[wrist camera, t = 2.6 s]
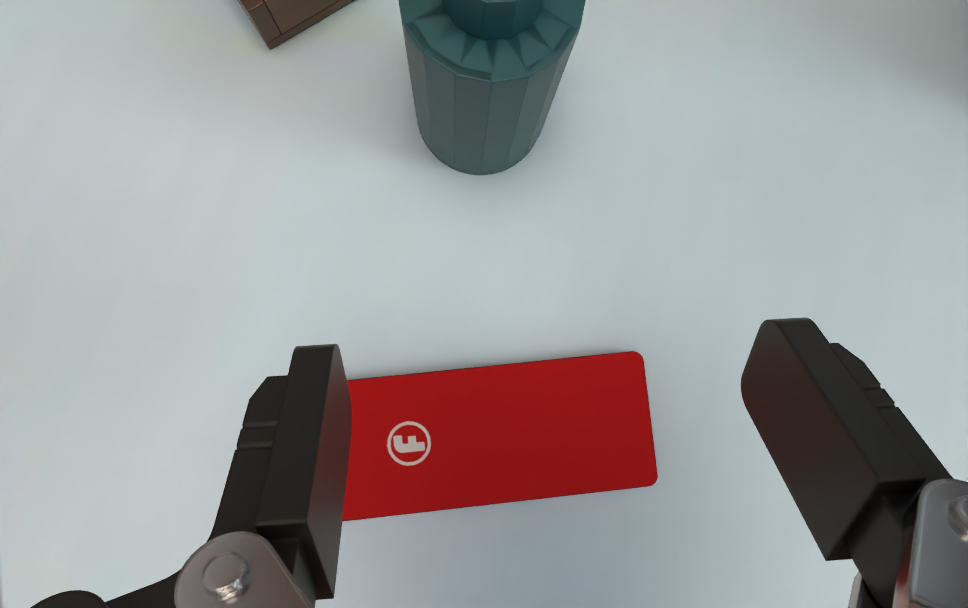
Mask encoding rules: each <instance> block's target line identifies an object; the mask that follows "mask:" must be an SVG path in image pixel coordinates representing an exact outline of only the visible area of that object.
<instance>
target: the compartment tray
mask: <svg viewBox="0 0 968 608" xmlns="http://www.w3.org/2000/svg"><path fill="white" fill-rule="evenodd" d="M352 1H354V0H238V2H239V3H240V5H241V7H242V8H243V10H244V11H245V13H246V14H247V16H248V17H249V19H250V20H251V22H252V23H253V25H254V26H255V28H256V29H257V31H258V32H259V34H260V35H261V37H262V39H263V40H264V42H265V43H266V45H267V46H268V48H269V49H272V48H274V47H276V46H277V45H279V44H281V43H282V42H284V41H286V40H287V39H289V38H291V37H293V36H294V35H296V34H298V33H299V32H301V31H303V30H304V29H306V28H308V27H310V26H311V25H313V24H315V23H316V22H318V21H320V20H321V19H323V18H325V17H327V16H328V15H330V14H332V13H333V12H335V11H337V10H338V9H340V8H342V7H343V6H345V5H347V4H349V3H350V2H352Z"/></svg>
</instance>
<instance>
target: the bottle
mask: <svg viewBox="0 0 968 608" xmlns="http://www.w3.org/2000/svg"><path fill="white" fill-rule="evenodd" d="M584 5H585V0H399V6H400V13H401V19H402V26H403V32H404V38H405V45H406V51H407V58H408V64H409V71H410V77H411V84H412V90H413V97H414V103H415V109H416V115H417V120H418V125H419V130H420V133H421V135H422V138H423V140H424V142H425V143H426V145H427V147H428V148H429V149H430V151H431V152H432V153H433V154H434V155H435V156H436V157H437V158H438V159H439V160H440V161H442V162H443V163H444V164H446V165H448V166H449V167H451V168H453V169H455V170H458V171H461V172H464V173H468V174H475V175H485V174H493V173H497V172H501V171H503V170H506V169H508V168H510V167H512V166H514V165H515V164H516V163H518V162H519V161H521V160H522V159H523V158H524V157H525V156H526V155H527V154H528V152H529V151H530V150H531V149H532V147H533V145H534V144H535V142H536V140H537V138H538V137H539V135H540V133H541V130H542V127H543V125H544V122H545V119H546V117H547V114H548V111H549V109H550V106H551V103H552V101H553V98H554V96H555V93H556V90H557V88H558V85H559V82H560V80H561V77H562V74H563V72H564V69H565V66H566V64H567V61H568V58H569V56H570V53H571V50H572V48H573V45H574V43H575V40H576V37H577V35H578V32H579V29H580V25H581V20H582V15H583V10H584Z"/></svg>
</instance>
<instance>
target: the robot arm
mask: <svg viewBox="0 0 968 608" xmlns="http://www.w3.org/2000/svg"><path fill="white" fill-rule="evenodd" d="M741 393H742V398H743V401H744V404H745V407H746V409H747V411H748V413H749V414H750V416H751V418H752V420H753V422H754V424H755V426H756V428H757V430H758V432H759V434H760V436H761V437H762V439H763V441H764V443H765V445H766V447H767V449H768V451H769V453H770V455H771V457H772V459H773V460H774V462H775V464H776V466H777V468H778V470H779V472H780V474H781V476H782V478H783V480H784V482H785V483H786V485H787V487H788V489H789V491H790V493H791V495H792V497H793V499H794V501H795V503H796V505H797V506H798V508H799V510H800V512H801V514H802V516H803V518H804V520H805V522H806V524H807V526H808V528H809V529H810V531H811V533H812V535H813V537H814V539H815V541H816V543H817V545H818V547H819V549H820V551H821V552H822V554H823V556H824V558H825V560H826V561H830V560H843V559H853V561H854V563H855V565H856V567H857V568H858V570H859V572H858V573H857V575H856V576H855V578H854V581H853V585H852V590H851V595H850V600H849V605H848V608H968V482H964V481H960V480H955V479H953V478H952V476H951V475H950V474H949V473H948V471H947V470H946V469H945V468H944V466H943V465H942V464H941V462H940V461H939V460H938V458H937V457H936V456H935V455H934V453H933V452H932V451H931V449H930V448H929V447H928V445H927V444H926V443H925V441H924V440H923V439H922V438H921V436H920V435H919V434H918V432H917V431H916V430H915V428H914V427H913V426H912V425H911V423H910V422H909V421H908V419H907V418H906V417H905V415H904V414H903V413H902V411H901V410H900V409H899V408H898V407H895V406H894V401H893V400H892V398H891V397H890V396H889V395H888V393H887V392H886V391H885V389H881V387H880V383H879V381H878V380H877V379H876V378H875V376H874V375H873V374H872V372H871V371H870V370H869V368H868V367H867V366H866V365H865V363H864V362H863V361H862V360H860V359H859V358H858V357H856V356H855V355H854V354H852V353H851V352H849V351H848V350H847V349H845V348H844V347H843V346H841V345H840V344H839V343H829V342H828V340H827V339H826V338H825V336H824V335H823V334H822V332H821V331H820V330H819V328H818V327H817V325H816V324H815V323H814V322H813V321H812V320H811V319H809V318H789V319H772V320H766V321H764V322H763V323H762V324H761V326H760V328H759V331H758V333H757V336H756V339H755V341H754V344H753V347H752V349H751V352H750V355H749V358H748V360H747V363H746V366H745V368H744V371H743V374H742V378H741ZM242 425H243V429H241V431H240V435H239V438H238V442H237V450H235V453H234V456H233V460H232V463H231V467H230V470H229V474H228V477H227V481H226V485H225V488H224V492H223V495H222V499H221V502H220V506H219V509H218V513H217V517H216V520H215V524H214V527H213V530H212V532H211V535H210V537H209V539H208V541H207V542H206V543H205V544H204V545H203V546H201V547H200V548H199V549H198V550H196V551H195V552H194V553H193V554H192V555H191V556H190V558H189V559H188V560H187V561H186V563H185V564H184V566H183V567H182V569H181V570H179V571H178V572H176V573H175V574H173V575H171V576H170V577H168V578H166V579H164V580H161V581H159V582H157V583H154V584H152V585H149V586H146V587H144V588H141V589H139V590H136V591H133V592H131V593H128V594H125V595H123V596H120V597H118V598H115V599H112V600H110V601H107V602H104V601H103V600H102V599H101V598H100V597H99V596H97V595H96V594H94V593H91V592H88V591H81V590H74V591H67V592H62V593H59V594H56V595H53V596H50V597H48V598H46V599H44V600H42V601H40V602H39V603H37V604H35V605H34V606H32V607H31V608H315V601H316V600H319V599H332V598H334V591H335V582H336V573H337V564H338V555H339V545H340V536H341V527H342V518H343V508H344V499H345V490H346V481H347V472H348V462H349V453H350V444H351V435H352V406H351V398H350V394H349V389H348V385H347V380H346V376H345V371H344V366H343V362H342V357H341V353H340V349H339V346H338V345H337V344H328V345H311V346H297V347H295V349H294V352H293V355H292V360H291V364H290V368H289V373H288V375H287V376H270V377H267V378H266V379H265V380H264V382H263V383H262V384H261V385H260V387H259V388H258V389H257V390H256V392H255V393H254V394H253V395H252V397H251V398H250V399H249V403H248V406H247V410H246V413H245V417H244V421H243V424H242Z"/></svg>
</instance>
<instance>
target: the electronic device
mask: <svg viewBox="0 0 968 608" xmlns="http://www.w3.org/2000/svg"><path fill="white" fill-rule="evenodd" d="M347 385H348V389H349V394H350V398H351V406H352V435H351V444H350V453H349V462H348V472H347V481H346V490H345V499H344V508H343V518H342V521H349V520H358V519H367V518H376V517H384V516H393V515H402V514H411V513H419V512H428V511H437V510H446V509H454V508H463V507H472V506H481V505H489V504H498V503H507V502H516V501H524V500H533V499H542V498H550V497H559V496H568V495H577V494H585V493H594V492H603V491H612V490H620V489H629V488H638V487H647V486H651V485H653V484H654V483H655V482H656V481H657V477H658V475H657V467H656V459H655V450H654V442H653V434H652V426H651V418H650V409H649V401H648V393H647V385H646V377H645V369H644V361H643V357H642V356H641V355H640V354H639V353H637V352H634V351H631V352H621V353H611V354H601V355H592V356H582V357H572V358H562V359H552V360H542V361H533V362H523V363H513V364H503V365H493V366H483V367H474V368H464V369H454V370H444V371H434V372H425V373H415V374H405V375H395V376H385V377H375V378H366V379H356V380H347Z"/></svg>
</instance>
